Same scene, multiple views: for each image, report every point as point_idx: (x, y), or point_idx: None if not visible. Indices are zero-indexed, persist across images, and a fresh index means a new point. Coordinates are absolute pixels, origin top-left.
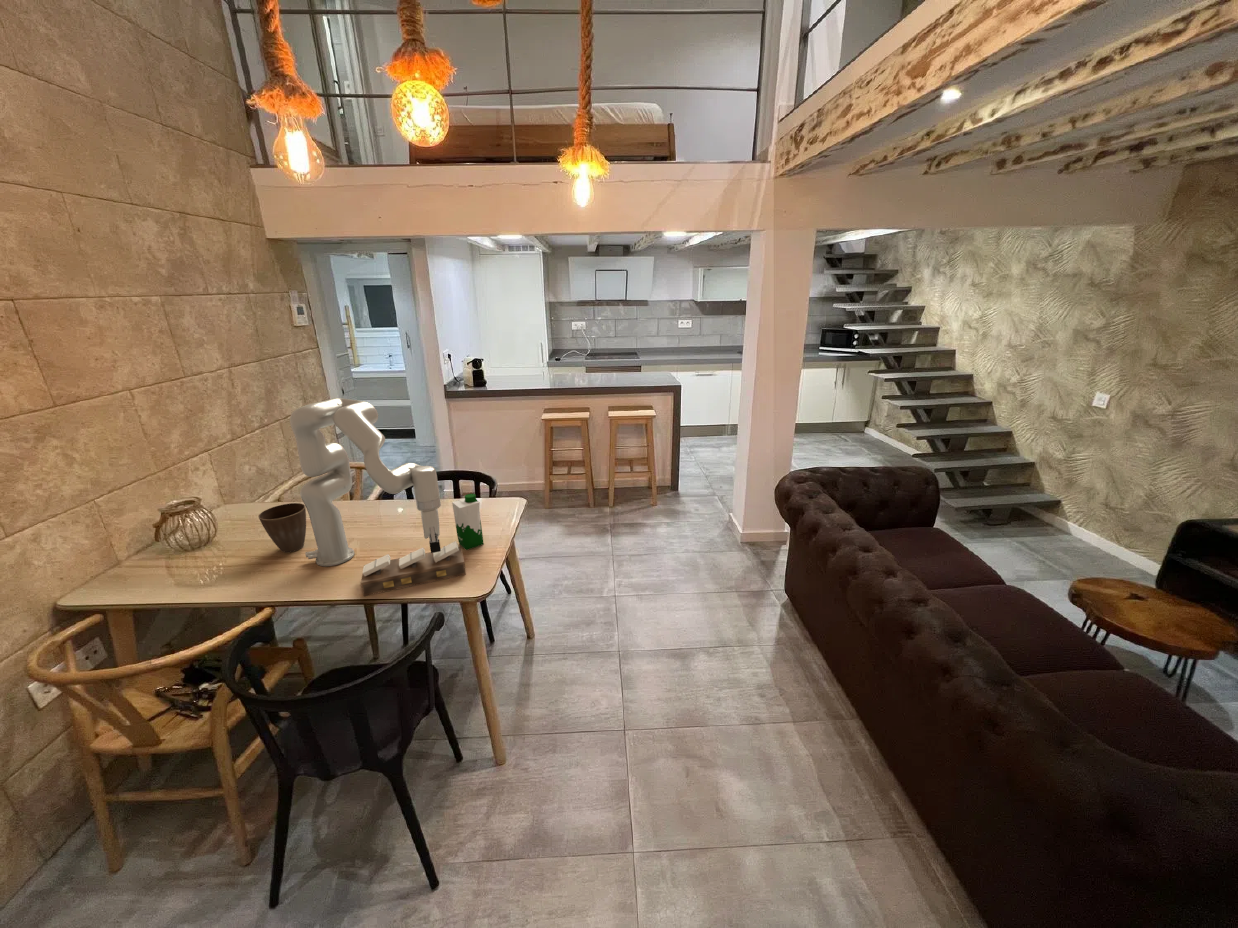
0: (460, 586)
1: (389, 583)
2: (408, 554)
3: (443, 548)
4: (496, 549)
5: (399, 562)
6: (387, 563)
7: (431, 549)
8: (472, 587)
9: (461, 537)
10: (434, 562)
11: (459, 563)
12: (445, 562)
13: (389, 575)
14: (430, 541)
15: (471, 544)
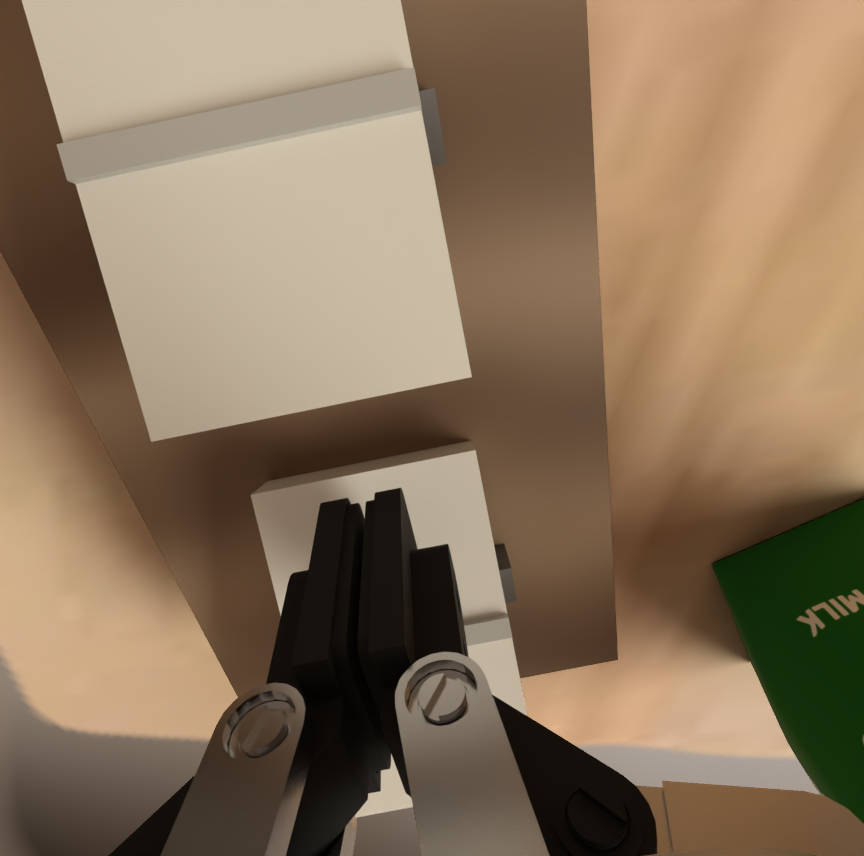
0: (84, 602)
1: None
2: (396, 20)
3: (465, 613)
4: (622, 738)
5: None
6: None
7: (316, 555)
8: (72, 675)
9: (827, 640)
10: (274, 462)
11: (240, 688)
12: (257, 580)
13: None
14: (209, 767)
15: (740, 633)
